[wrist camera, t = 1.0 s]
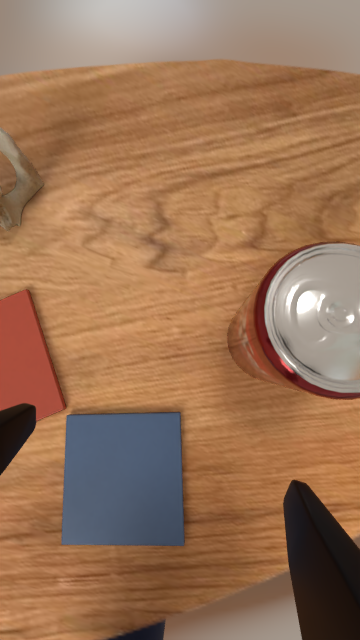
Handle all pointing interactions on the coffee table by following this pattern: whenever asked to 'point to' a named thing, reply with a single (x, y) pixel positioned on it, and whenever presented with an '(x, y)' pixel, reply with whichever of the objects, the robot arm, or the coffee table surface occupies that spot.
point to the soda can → (304, 323)
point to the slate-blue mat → (123, 480)
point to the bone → (17, 183)
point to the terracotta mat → (26, 359)
